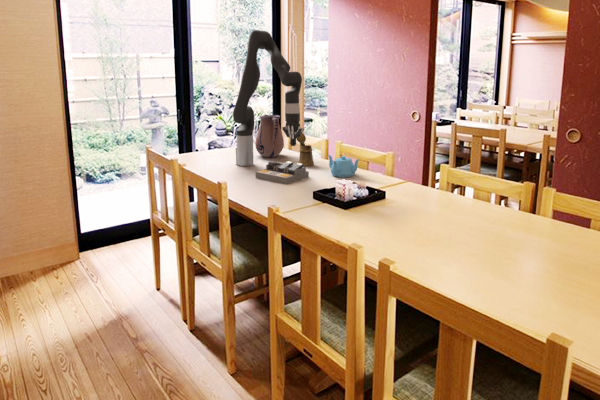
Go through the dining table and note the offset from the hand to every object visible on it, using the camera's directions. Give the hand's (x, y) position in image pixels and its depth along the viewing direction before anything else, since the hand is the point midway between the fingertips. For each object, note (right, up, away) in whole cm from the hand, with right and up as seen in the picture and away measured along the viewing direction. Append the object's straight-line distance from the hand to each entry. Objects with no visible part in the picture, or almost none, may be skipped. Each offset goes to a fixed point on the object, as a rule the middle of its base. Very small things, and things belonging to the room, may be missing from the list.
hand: (293, 145), depth 266 cm
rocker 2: (-4, -10, +2) cm, 11 cm away
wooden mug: (+6, -8, +32) cm, 33 cm away
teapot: (+26, -15, +6) cm, 31 cm away
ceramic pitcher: (-14, -1, +52) cm, 54 cm away
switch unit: (-6, -16, +2) cm, 17 cm away
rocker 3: (+2, -12, -2) cm, 12 cm away
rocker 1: (-9, -9, +6) cm, 15 cm away
